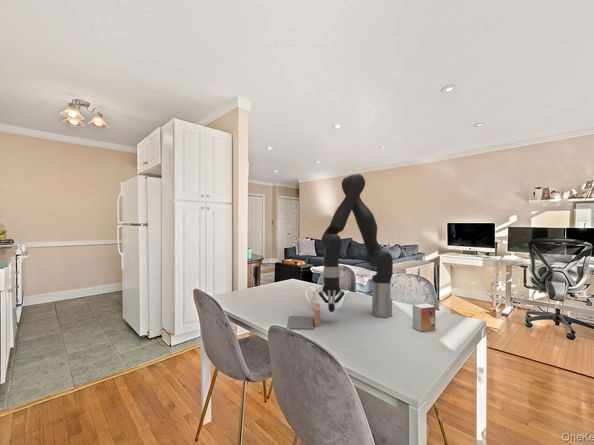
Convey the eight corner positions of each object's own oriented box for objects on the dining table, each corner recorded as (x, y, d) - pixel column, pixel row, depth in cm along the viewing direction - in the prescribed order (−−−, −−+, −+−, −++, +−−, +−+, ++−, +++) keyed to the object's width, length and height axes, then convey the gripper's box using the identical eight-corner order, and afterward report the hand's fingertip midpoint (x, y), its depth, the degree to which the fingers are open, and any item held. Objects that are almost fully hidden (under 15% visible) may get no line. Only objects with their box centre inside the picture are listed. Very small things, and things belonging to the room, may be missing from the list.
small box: (420, 332, 117) (420, 308, 117) (412, 327, 122) (412, 304, 122) (436, 330, 119) (435, 306, 119) (426, 325, 124) (426, 302, 124)
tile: (319, 319, 133) (319, 303, 133) (320, 327, 123) (320, 309, 123) (314, 319, 133) (314, 303, 133) (315, 327, 123) (315, 309, 123)
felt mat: (312, 316, 136) (312, 316, 136) (313, 329, 120) (313, 328, 120) (289, 316, 137) (289, 316, 137) (287, 329, 121) (287, 328, 121)
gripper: (344, 273, 131) (344, 309, 131) (317, 273, 132) (317, 308, 132) (346, 277, 124) (346, 314, 124) (317, 276, 124) (318, 314, 124)
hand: (331, 311), depth 128 cm, fingers closed
